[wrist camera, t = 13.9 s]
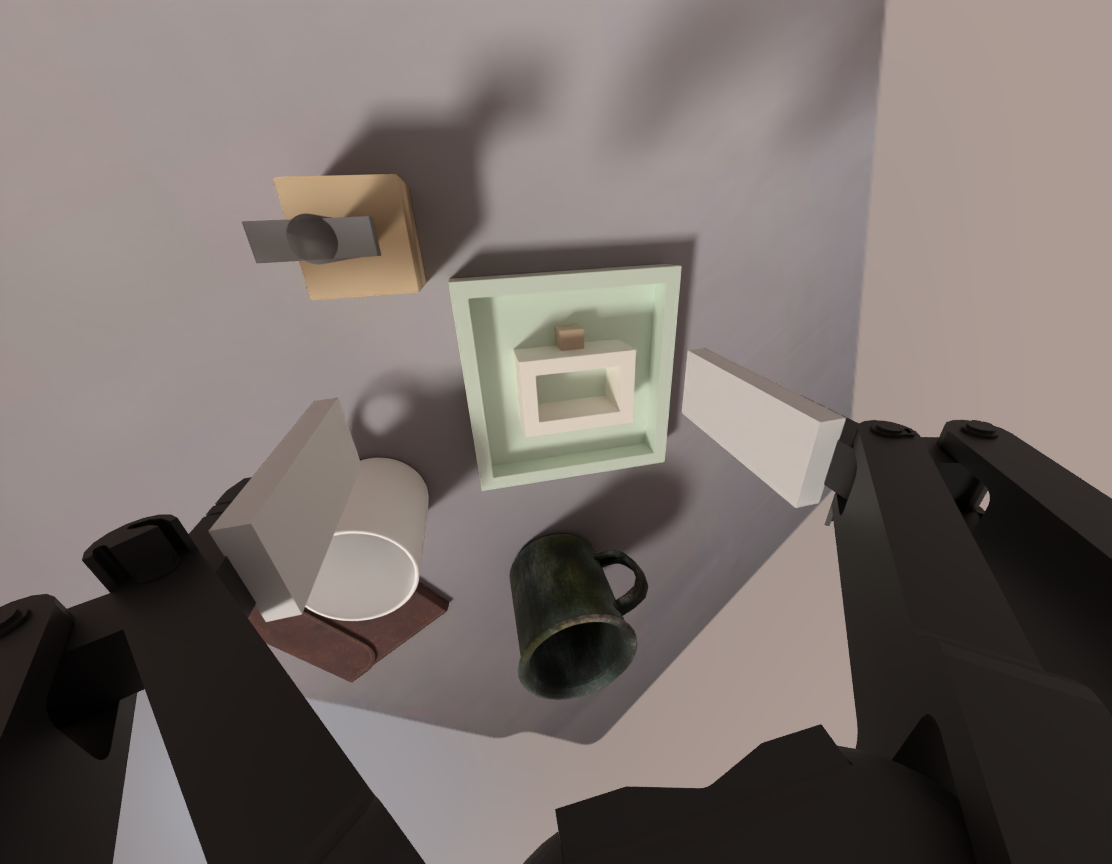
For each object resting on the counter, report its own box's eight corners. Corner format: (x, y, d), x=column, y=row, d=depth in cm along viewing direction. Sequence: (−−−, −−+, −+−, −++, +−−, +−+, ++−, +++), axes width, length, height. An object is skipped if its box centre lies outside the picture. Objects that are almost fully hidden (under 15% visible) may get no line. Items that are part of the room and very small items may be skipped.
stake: (310, 189, 27) (196, 152, 15) (408, 186, 28) (371, 149, 16) (338, 289, 30) (260, 320, 18) (426, 283, 31) (405, 309, 19)
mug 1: (367, 407, 34) (330, 472, 24) (447, 502, 40) (442, 584, 30) (281, 456, 34) (212, 539, 25) (373, 543, 40) (345, 638, 30)
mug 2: (485, 565, 44) (492, 668, 34) (593, 493, 43) (636, 576, 32) (539, 613, 49) (560, 715, 39) (637, 549, 48) (686, 637, 37)
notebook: (299, 497, 37) (291, 510, 35) (449, 598, 46) (448, 613, 44) (186, 588, 38) (173, 605, 36) (353, 668, 47) (349, 685, 46)
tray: (449, 278, 31) (448, 282, 28) (664, 263, 34) (681, 265, 31) (480, 473, 39) (481, 491, 36) (651, 447, 42) (664, 461, 39)
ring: (519, 418, 36) (525, 437, 33) (511, 330, 33) (516, 341, 29) (616, 405, 38) (632, 422, 34) (618, 320, 34) (636, 329, 31)
